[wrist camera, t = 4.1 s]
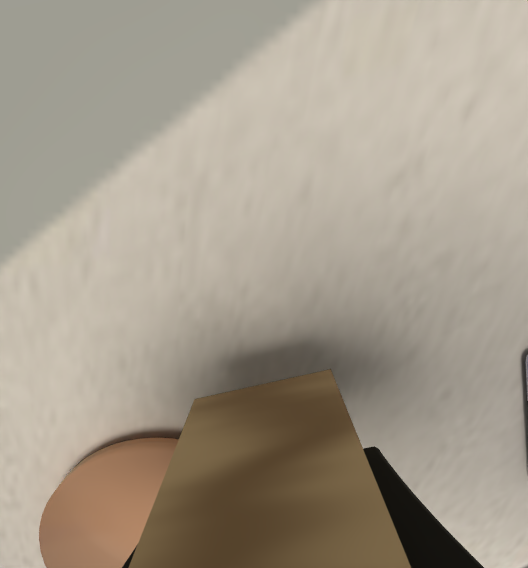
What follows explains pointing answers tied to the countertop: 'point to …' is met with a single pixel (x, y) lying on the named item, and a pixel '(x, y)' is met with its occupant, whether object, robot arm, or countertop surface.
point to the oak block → (270, 486)
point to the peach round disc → (104, 505)
